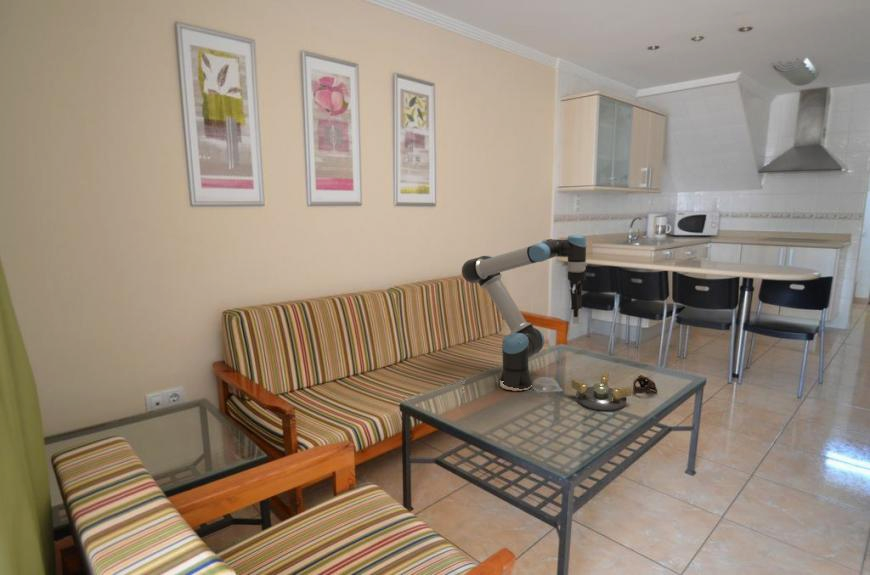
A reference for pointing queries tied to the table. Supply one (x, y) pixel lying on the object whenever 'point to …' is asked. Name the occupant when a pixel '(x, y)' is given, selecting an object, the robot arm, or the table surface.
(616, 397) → the knob
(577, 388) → the knob
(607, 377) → the knob
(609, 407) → the tribrach
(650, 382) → the brown animal skull
